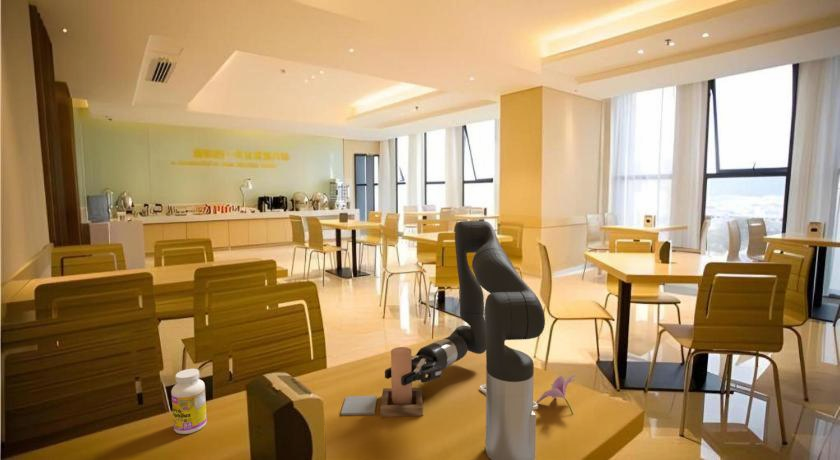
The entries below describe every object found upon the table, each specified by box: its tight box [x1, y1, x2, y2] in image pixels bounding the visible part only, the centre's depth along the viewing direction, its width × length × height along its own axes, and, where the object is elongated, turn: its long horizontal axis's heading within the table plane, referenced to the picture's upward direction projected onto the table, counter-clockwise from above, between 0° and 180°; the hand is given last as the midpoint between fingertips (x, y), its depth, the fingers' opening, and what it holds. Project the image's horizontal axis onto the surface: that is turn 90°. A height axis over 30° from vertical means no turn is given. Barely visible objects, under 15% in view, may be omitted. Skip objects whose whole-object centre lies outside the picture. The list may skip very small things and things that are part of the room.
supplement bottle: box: [170, 368, 208, 435], centre depth 95 cm, size 7×7×13 cm
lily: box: [535, 372, 578, 415], centre depth 102 cm, size 12×12×10 cm
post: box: [390, 346, 413, 405], centre depth 104 cm, size 5×5×14 cm
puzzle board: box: [379, 387, 424, 418], centre depth 104 cm, size 10×10×2 cm
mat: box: [340, 395, 378, 416], centre depth 104 cm, size 8×8×1 cm
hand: (394, 378), depth 101 cm, fingers closed on post, 5 cm apart
